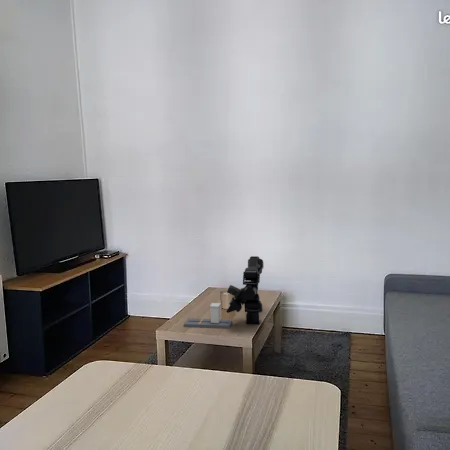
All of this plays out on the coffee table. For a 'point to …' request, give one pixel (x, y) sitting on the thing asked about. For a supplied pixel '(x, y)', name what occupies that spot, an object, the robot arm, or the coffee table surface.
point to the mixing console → (207, 323)
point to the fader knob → (215, 312)
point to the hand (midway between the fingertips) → (226, 312)
